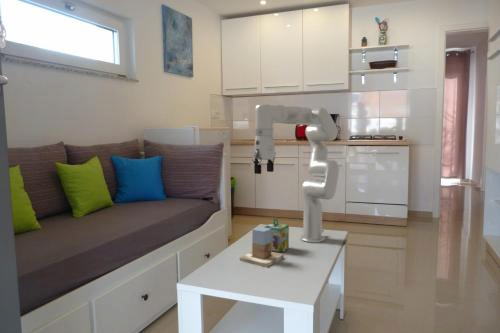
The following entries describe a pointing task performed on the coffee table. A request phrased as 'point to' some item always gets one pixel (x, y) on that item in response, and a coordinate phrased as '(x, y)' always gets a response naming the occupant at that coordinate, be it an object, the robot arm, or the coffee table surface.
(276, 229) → the chalk box
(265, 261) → the tan square board
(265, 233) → the slate cube
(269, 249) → the walnut cube
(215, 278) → the coffee table surface
